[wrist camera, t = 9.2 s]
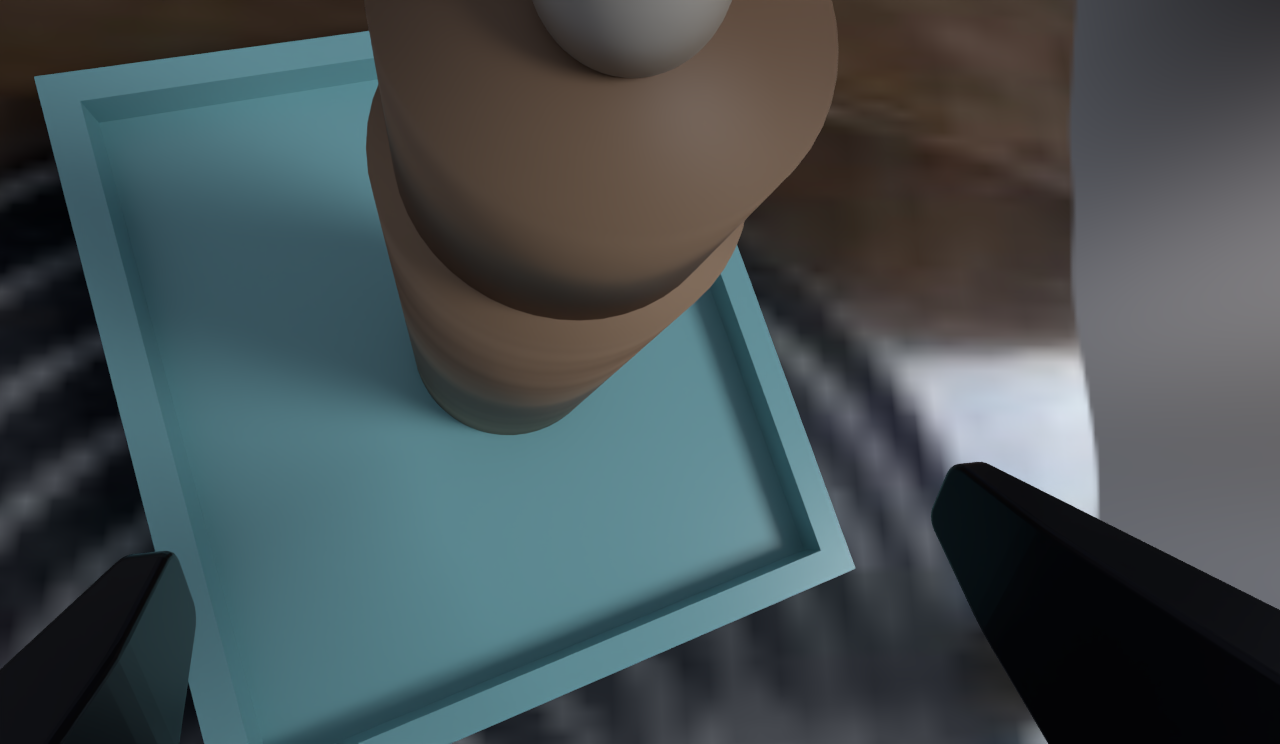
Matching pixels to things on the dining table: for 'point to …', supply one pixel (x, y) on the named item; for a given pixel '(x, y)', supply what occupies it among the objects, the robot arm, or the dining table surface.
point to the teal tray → (395, 429)
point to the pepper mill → (575, 176)
